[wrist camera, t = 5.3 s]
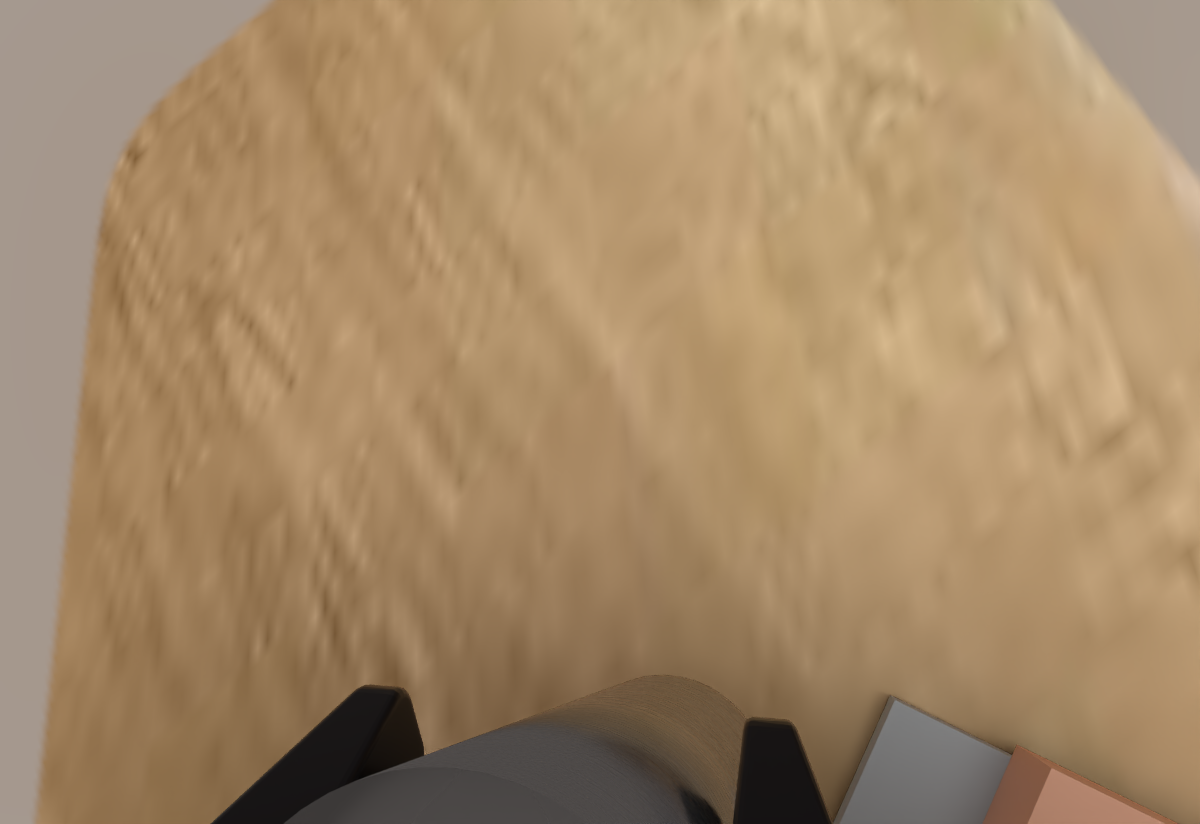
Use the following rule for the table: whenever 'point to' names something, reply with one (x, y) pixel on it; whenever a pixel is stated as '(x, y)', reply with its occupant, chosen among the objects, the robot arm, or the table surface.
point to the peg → (568, 767)
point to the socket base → (969, 781)
